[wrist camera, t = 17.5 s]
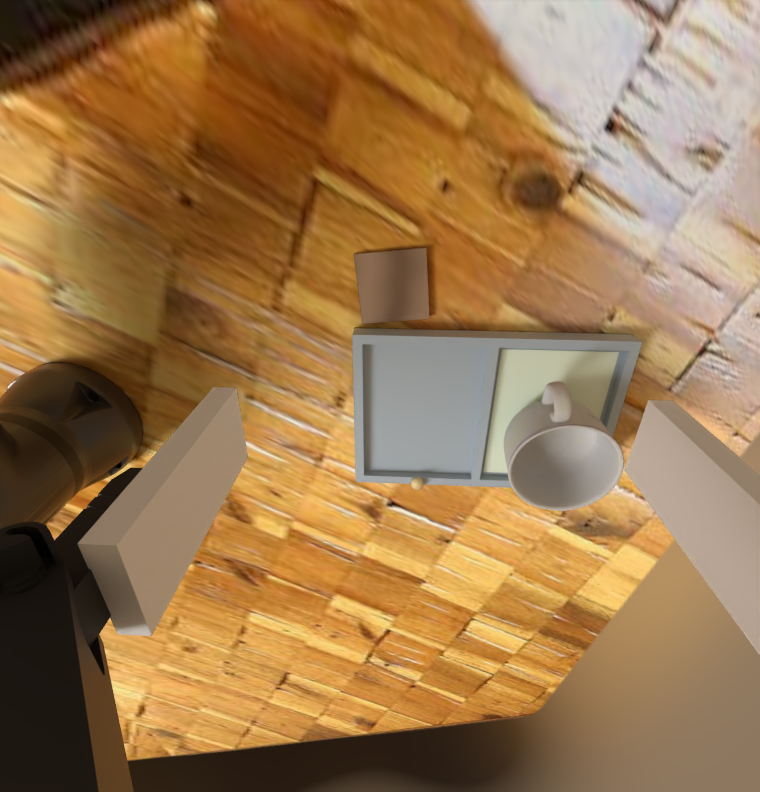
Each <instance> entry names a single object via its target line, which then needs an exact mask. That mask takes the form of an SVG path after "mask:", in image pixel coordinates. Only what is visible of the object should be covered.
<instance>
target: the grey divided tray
mask: <svg viewBox="0 0 760 792" xmlns="http://www.w3.org/2000/svg"><path fill="white" fill-rule="evenodd" d="M352 338H353V382H354V425H355V468H356V482H376V483H402V484H412V488H414V489H416V490H419V489H421V488H422V487H423V484H429V485H456V486H483V487H510V488H512V487H511V484H510V482H509V479H508V469H507V465H506V460H505V453H504V436H505V432H506V429H507V427H508V425H509V423H510V422H511V420H512V419H513V418H514V416H515V415H516V414H517V413H518V412H520V411H521V410H522V409H524V408H525V407H527V406H528V405H531V404H533V403H535V402H538V401H542V397H543V395H544V389H545V387H546V385H547V384H548V383H550V382H554V381H561V382H563V383H564V384H565V385H566V386H567V388H568V390H569V393H570V397H571V401H575V402H577V403H580V404H582V405H584V406H585V407H587V408H588V409H590V410H591V411H592V412H593V413H594V414H595V415H596V416H597V417H598V418H599V419H600V421H601V422H602V423H603V425H604V426H605V427H606V429H607V430H608V432H609V433H610V435H611V436H612V437H613V435H614V432H615V429H616V425H617V422H618V419H619V416H620V413H621V409H622V406H623V403H624V400H625V397H626V393H627V390H628V387H629V384H630V381H631V377H632V374H633V371H634V368H635V364H636V361H637V358H638V355H639V352H640V348H641V345H642V341H641V340H639V339H638V338H637V337H635V336H634V335H632V334H598V333H555V332H513V331H470V330H428V329H385V328H354V331H353V335H352Z"/></svg>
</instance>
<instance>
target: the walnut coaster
mask: <svg viewBox="0 0 760 792" xmlns="http://www.w3.org/2000/svg"><path fill="white" fill-rule="evenodd" d="M354 259H355V267H356V276H357V284H358V293H359V301H360V309H361V318H362V324H367V323H380V322H393V321H406V320H419V319H429V297H428V275H427V253H426V247H420V248H409V249H398V250H388V251H377V252H366V253H355V254H354Z"/></svg>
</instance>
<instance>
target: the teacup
mask: <svg viewBox="0 0 760 792" xmlns="http://www.w3.org/2000/svg"><path fill="white" fill-rule="evenodd" d="M504 453H505V460H506V465H507V469H508V479H509V482H510V484H511V487H512V489H513V490H514V491H515V493H516V494H517V495H518V496H519V497H520V498H521V499H522V500H524V501H525V502H527V503H529V504H531V505H533V506H536V507H539V508H543V509H548V510H558V511H566V510H572V509H577V508H581V507H584V506H587V505H590V504H592V503H594V502H596V501H598V500H600V499H601V498H603V497H604V496H605V495H607V494H608V493H609V492H610V491H611V490H612V489H613V488H614V487H615V485H616V484H617V483H618V481H619V479H620V478H621V475H622V472H623V469H624V458H623V453H622V450H621V448H620V446H619V444H618V443H617V442H616V441H615V439H614V438H613V437H612V436H611V435H610V433H609V432H608V430H607V429H606V427H605V426H604V425H603V423H602V422H601V421H600V419H599V418H598V417H597V416H596V415H595V414H594V413H593V412H592V411H591V410H590V409H588V408H587V407H585V406H584V405H582V404H580V403H577V402H575V401H571V397H570V393H569V390H568V388H567V386H566V385H565V384H564V383H563V382H561V381H554V382H550V383H548V384H547V385H546V387H545V389H544V395H543V397H542V401H538V402H535V403H533V404H531V405H528V406H527V407H525V408H524V409H522V410H521V411H520V412H518V413H517V414H516V415H515V416H514V418H513V419H512V420H511V422H510V423H509V425H508V427H507V429H506V432H505V436H504Z"/></svg>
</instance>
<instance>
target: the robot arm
mask: <svg viewBox="0 0 760 792" xmlns="http://www.w3.org/2000/svg"><path fill="white" fill-rule="evenodd" d="M142 438H143V430H142V424H141V420H140V417H139V415H138V413H137V411H136V409H135V407H134V405H133V404H132V402H131V401H130V400H129V398H128V397H127V396H126V395H125V394H124V393H123V392H122V391H121V390H120V389H119V388H118V387H117V386H116V385H115V384H113V383H112V382H111V381H109V380H108V379H107V378H105V377H103V376H102V375H100V374H98V373H96V372H94V371H92V370H90V369H87V368H85V367H81V366H78V365H74V364H68V363H48V364H44V365H40V366H38V367H36V368H34V369H32V370H30V371H28V372H26V373H24V374H23V375H21V376H19V377H18V378H17V379H15V380H14V381H13V382H12V383H11V384H10V385H9V387H8V388H7V390H6V391H5V393H4V394H3V395H2V397H1V398H0V792H133V787H132V782H131V777H130V772H129V767H128V762H127V758H126V753H125V748H124V743H123V738H122V733H121V728H120V723H119V718H118V714H117V709H116V704H115V699H114V694H113V689H112V684H111V679H110V675H109V670H108V665H107V660H106V655H105V650H104V645H103V642H102V640H101V638H100V635H99V633H100V632H101V630H102V629H103V627H104V626H105V624H106V623H107V621H108V620H109V618H111V620H112V623H113V625H114V627H115V629H116V632H117V634H124V635H143V636H152V634H153V632H154V631H155V629H156V627H157V625H158V623H159V621H160V619H161V618H162V616H163V614H164V612H165V610H166V608H167V606H168V605H169V603H170V601H171V599H172V597H173V595H174V593H175V592H176V590H177V588H178V586H179V584H180V582H181V580H182V579H183V577H184V575H185V573H186V571H187V569H188V567H189V566H190V564H191V562H192V560H193V558H194V556H195V554H196V553H197V551H198V549H199V547H200V545H201V543H202V541H203V540H204V538H205V536H206V534H207V532H208V530H209V528H210V527H211V525H212V523H213V521H214V519H215V517H216V515H217V514H218V512H219V510H220V508H221V506H222V504H223V502H224V501H225V499H226V497H227V495H228V493H229V491H230V489H231V488H232V486H233V484H234V482H235V480H236V478H237V476H238V474H239V473H240V471H241V469H242V467H243V465H244V463H245V461H246V460H247V458H248V454H247V448H246V442H245V436H244V430H243V424H242V418H241V412H240V406H239V400H238V394H237V388H228V387H213V388H212V389H211V390H210V392H209V393H208V394H207V395H206V396H205V397H204V398H203V400H202V401H201V402H200V403H199V404H198V405H197V407H196V408H195V409H194V410H193V411H192V412H191V413H190V415H189V416H188V417H187V418H186V419H185V420H184V421H183V423H182V424H181V425H180V426H179V427H178V428H177V430H176V431H175V432H174V433H173V434H172V435H171V436H170V438H169V439H168V440H167V441H166V442H165V443H164V445H163V446H162V447H161V448H160V449H159V450H158V451H157V453H156V454H155V455H154V456H153V457H152V458H151V459H150V461H149V462H148V463H147V464H146V465H145V466H144V468H129V469H128V470H126V471H125V472H123V473H121V474H120V475H118V476H117V477H115V478H114V479H112V480H111V481H110V482H109V483H108V484H107V485H106V486H105V487H104V488H103V489H102V490H101V492H100V493H99V494H98V497H95V498H94V499H93V500H92V501H91V502H90V503H89V504H88V505H87V509H84V510H83V511H82V512H81V513H80V514H79V515H78V516H77V517H76V518H75V519H74V520H73V521H72V522H71V524H70V525H69V526H68V527H67V528H66V529H65V530H64V531H63V532H62V533H61V534H60V535H59V536H58V537H57V538H56V540H55V541H54V539H53V537H52V535H51V533H50V531H49V529H48V528H47V526H46V524H47V523H48V522H49V521H50V520H51V519H52V518H53V517H54V516H55V515H56V514H57V513H58V512H59V511H60V510H61V509H62V508H63V507H64V506H65V505H66V504H67V503H68V502H69V501H70V500H71V499H72V498H73V497H74V496H75V495H76V494H77V493H78V492H79V491H80V490H82V489H84V488H86V487H88V486H90V485H92V484H95V483H97V482H99V481H101V480H103V479H105V478H107V477H109V476H111V475H113V474H115V473H117V472H118V471H120V470H121V469H122V468H124V467H125V466H126V465H127V464H128V463H129V462H130V460H131V459H132V458H133V457H134V456H135V455H136V454H137V452H138V451H139V449H140V447H141V444H142ZM625 472H626V473H627V475H628V476H629V477H630V479H631V480H632V481H633V483H634V484H635V485H636V487H637V488H638V490H639V491H640V492H641V494H642V495H643V496H644V498H645V499H646V500H647V502H648V503H649V505H650V506H651V507H652V509H653V510H654V511H655V513H656V514H657V516H658V517H659V518H660V520H661V521H662V522H663V524H664V525H665V526H666V528H667V529H668V531H669V532H670V533H671V535H672V536H673V537H674V539H675V540H676V541H677V543H678V544H679V546H680V547H681V548H682V550H683V551H684V552H685V554H686V555H687V556H688V558H689V559H690V561H691V562H692V563H693V565H694V566H695V567H696V569H697V570H698V571H699V573H700V574H701V576H702V577H703V578H704V580H705V581H706V582H707V584H708V585H709V586H710V588H711V589H712V591H713V592H714V593H715V595H716V596H717V597H718V599H719V600H720V601H721V603H722V604H723V605H724V607H725V608H726V610H727V611H728V612H729V614H730V615H731V616H732V618H733V619H734V621H735V622H736V623H737V625H738V626H739V627H740V629H741V630H742V631H743V633H744V634H745V636H746V637H747V638H748V640H749V641H750V642H751V644H752V645H753V646H754V648H755V649H756V650H757V652H758V653H759V655H760V475H759V474H758V473H757V472H756V471H755V470H754V469H752V468H751V467H750V466H749V465H748V464H747V463H745V462H744V461H743V460H742V459H741V458H740V457H739V456H737V455H736V454H735V453H734V452H733V451H732V450H730V449H729V448H728V447H727V446H726V445H725V444H723V443H722V442H721V441H720V440H719V439H718V438H716V437H715V436H714V435H713V434H712V433H711V432H709V431H708V430H707V429H706V428H705V427H704V426H702V425H701V424H700V423H699V422H698V421H697V420H695V419H694V418H693V417H692V416H691V415H690V414H688V413H687V412H686V411H685V410H684V409H683V408H681V407H680V406H679V405H678V404H677V403H676V402H675V401H671V400H648V403H647V406H646V409H645V411H644V414H643V417H642V420H641V423H640V426H639V429H638V432H637V435H636V438H635V441H634V444H633V447H632V449H631V452H630V455H629V458H628V461H627V464H626V467H625Z"/></svg>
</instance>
